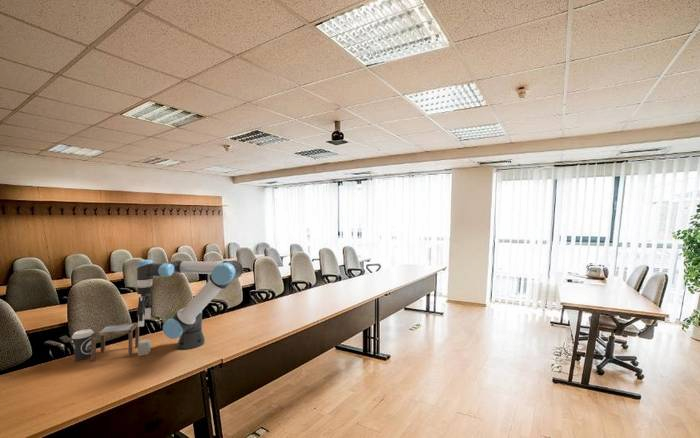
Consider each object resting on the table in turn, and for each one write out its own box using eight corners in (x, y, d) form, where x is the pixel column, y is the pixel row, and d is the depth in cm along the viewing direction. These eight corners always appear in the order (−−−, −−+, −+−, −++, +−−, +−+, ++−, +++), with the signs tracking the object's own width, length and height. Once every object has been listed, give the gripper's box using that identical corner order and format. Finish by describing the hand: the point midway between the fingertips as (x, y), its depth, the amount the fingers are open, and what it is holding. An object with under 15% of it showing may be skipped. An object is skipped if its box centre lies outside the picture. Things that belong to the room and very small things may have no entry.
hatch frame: (138, 346, 181) (139, 322, 181) (131, 356, 168) (131, 330, 168) (101, 351, 174) (102, 326, 175) (91, 362, 161) (91, 334, 162)
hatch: (133, 325, 179) (133, 323, 179) (127, 331, 169) (127, 329, 169) (104, 328, 174) (104, 326, 174) (96, 335, 164) (96, 333, 164)
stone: (150, 350, 175) (150, 339, 176) (148, 354, 171) (148, 342, 171) (140, 352, 174) (140, 340, 174) (138, 355, 169) (138, 343, 169)
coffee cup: (91, 353, 172) (91, 327, 172) (96, 357, 167) (96, 331, 167) (69, 359, 165) (69, 332, 165) (73, 364, 159) (73, 336, 159)
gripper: (143, 282, 183) (142, 316, 183) (130, 291, 160) (129, 330, 159) (157, 281, 186) (157, 315, 185) (146, 290, 162) (146, 328, 162)
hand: (144, 322), depth 172 cm, fingers open, 13 cm apart
